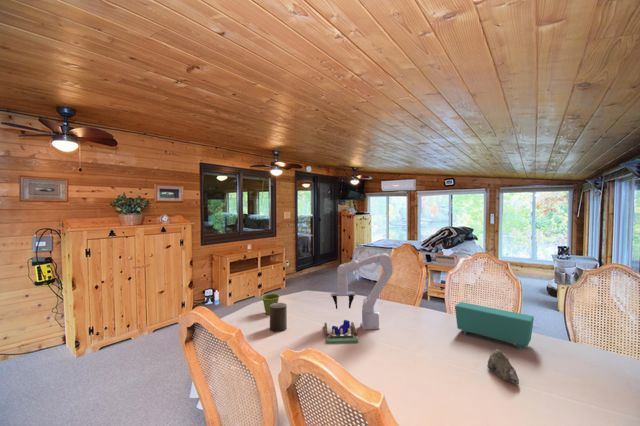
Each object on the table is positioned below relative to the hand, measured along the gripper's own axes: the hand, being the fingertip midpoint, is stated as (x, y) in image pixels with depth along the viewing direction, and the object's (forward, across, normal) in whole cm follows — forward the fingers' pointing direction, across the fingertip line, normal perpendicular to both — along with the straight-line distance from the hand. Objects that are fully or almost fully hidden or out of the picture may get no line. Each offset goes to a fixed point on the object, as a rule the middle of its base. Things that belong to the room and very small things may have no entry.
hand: (343, 308), depth 172 cm
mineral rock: (+10, -58, +57) cm, 82 cm away
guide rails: (+10, +3, +9) cm, 13 cm away
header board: (+10, +3, +20) cm, 23 cm away
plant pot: (+10, +45, -23) cm, 52 cm away
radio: (+10, -75, +24) cm, 79 cm away
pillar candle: (+10, +38, +2) cm, 39 cm away
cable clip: (+10, +3, +12) cm, 16 cm away
